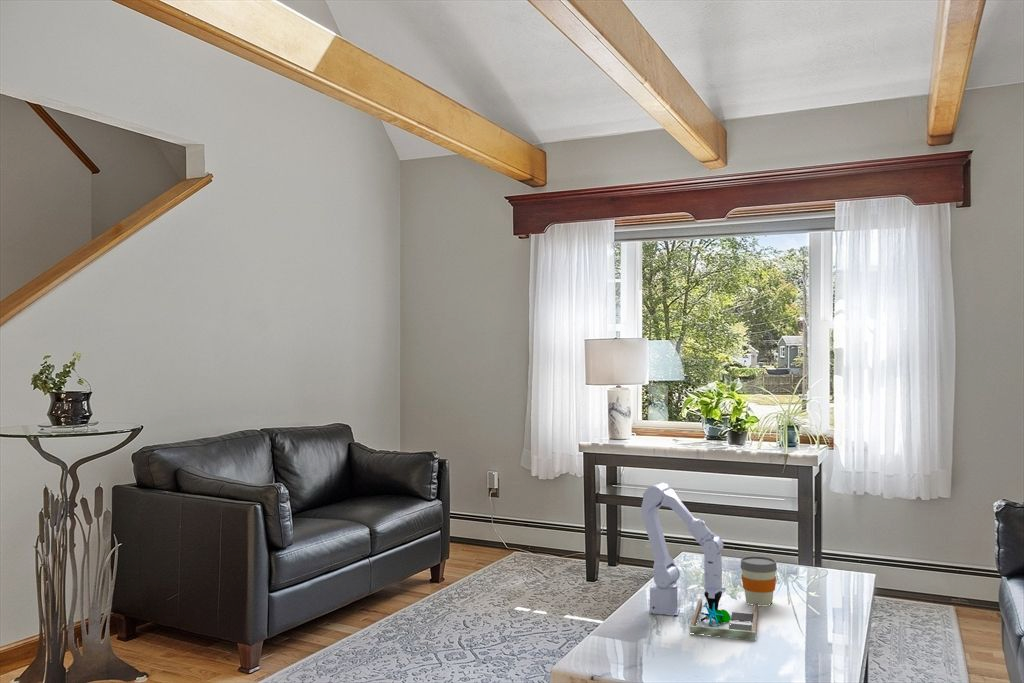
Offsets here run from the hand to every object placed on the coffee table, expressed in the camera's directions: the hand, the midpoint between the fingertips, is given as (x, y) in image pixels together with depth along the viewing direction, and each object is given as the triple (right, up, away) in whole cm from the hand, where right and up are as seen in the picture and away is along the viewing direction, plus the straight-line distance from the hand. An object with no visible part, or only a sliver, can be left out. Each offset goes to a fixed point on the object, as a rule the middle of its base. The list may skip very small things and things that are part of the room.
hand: (713, 613), depth 278 cm
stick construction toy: (-1, -2, -3) cm, 4 cm away
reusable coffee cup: (+21, -2, +18) cm, 28 cm away
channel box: (+3, -2, -2) cm, 5 cm away
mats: (+8, -2, -4) cm, 9 cm away
